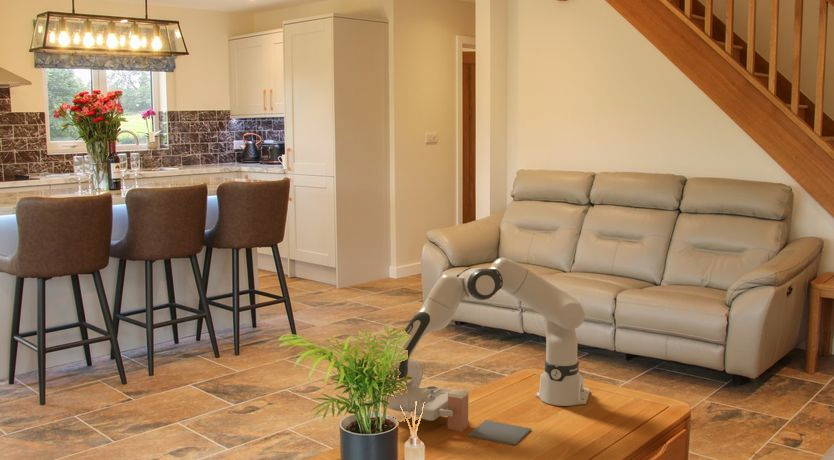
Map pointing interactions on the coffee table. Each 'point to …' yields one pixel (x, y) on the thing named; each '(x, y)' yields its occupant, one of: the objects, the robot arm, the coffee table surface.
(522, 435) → the slate mat
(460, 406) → the tall block
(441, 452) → the coffee table surface
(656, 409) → the coffee table surface
